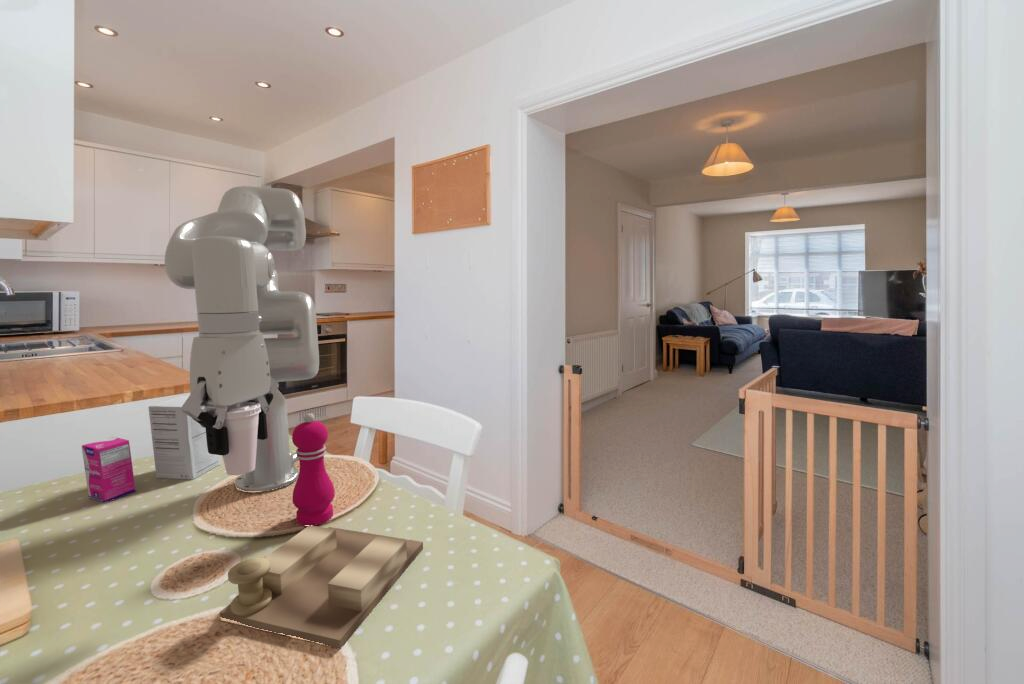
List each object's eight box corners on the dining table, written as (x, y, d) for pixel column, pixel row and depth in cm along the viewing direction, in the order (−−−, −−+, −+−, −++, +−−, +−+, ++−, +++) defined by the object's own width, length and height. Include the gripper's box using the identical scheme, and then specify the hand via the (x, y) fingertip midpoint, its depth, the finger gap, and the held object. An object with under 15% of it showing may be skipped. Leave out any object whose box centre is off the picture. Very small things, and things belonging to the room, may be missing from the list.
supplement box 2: (187, 462, 114) (181, 395, 112) (223, 463, 113) (217, 395, 111) (154, 478, 105) (146, 405, 103) (192, 480, 104) (185, 406, 102)
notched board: (329, 533, 82) (327, 499, 81) (423, 548, 77) (422, 513, 76) (220, 620, 61) (216, 576, 60) (340, 649, 56) (337, 601, 55)
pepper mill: (344, 513, 89) (338, 410, 86) (313, 531, 82) (306, 421, 80) (316, 505, 92) (310, 406, 89) (285, 522, 85) (277, 416, 83)
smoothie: (229, 482, 65) (221, 384, 64) (207, 472, 69) (199, 379, 67) (273, 467, 71) (267, 376, 69) (251, 459, 74) (244, 372, 72)
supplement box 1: (87, 498, 95) (80, 444, 94) (120, 487, 101) (114, 435, 99) (103, 503, 93) (97, 448, 91) (137, 491, 98) (131, 439, 97)
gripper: (257, 320, 76) (265, 426, 79) (148, 330, 60) (162, 464, 62) (295, 320, 74) (302, 430, 76) (192, 331, 58) (205, 471, 60)
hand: (239, 444), depth 69 cm, fingers closed on smoothie, 6 cm apart
